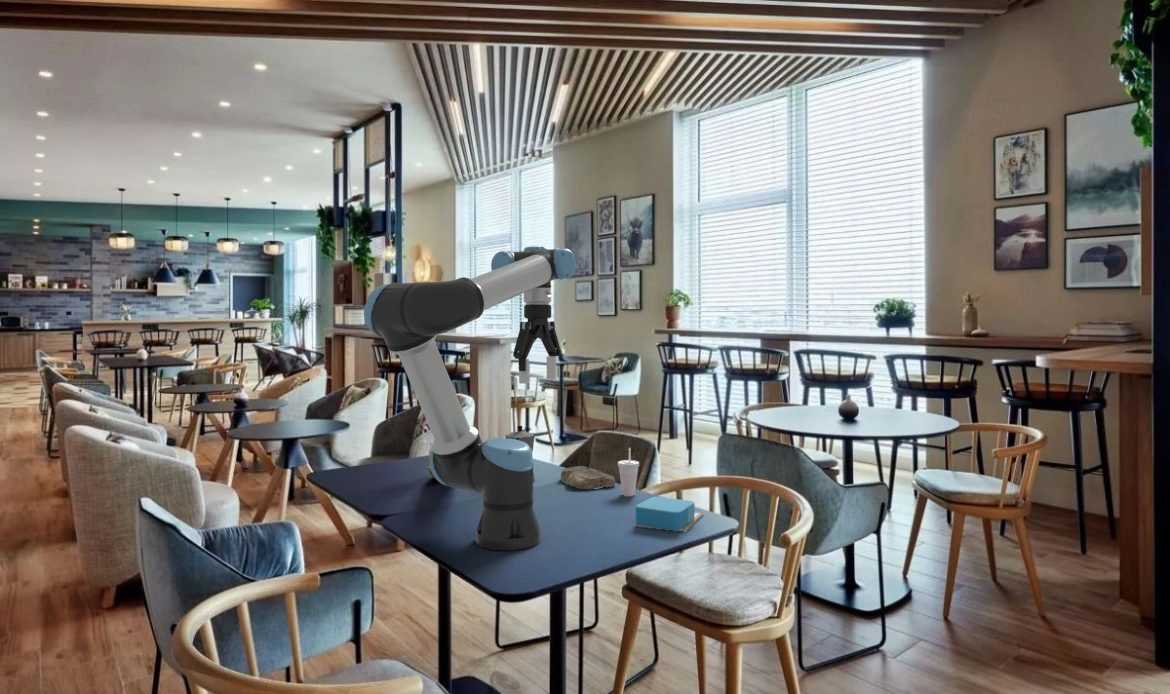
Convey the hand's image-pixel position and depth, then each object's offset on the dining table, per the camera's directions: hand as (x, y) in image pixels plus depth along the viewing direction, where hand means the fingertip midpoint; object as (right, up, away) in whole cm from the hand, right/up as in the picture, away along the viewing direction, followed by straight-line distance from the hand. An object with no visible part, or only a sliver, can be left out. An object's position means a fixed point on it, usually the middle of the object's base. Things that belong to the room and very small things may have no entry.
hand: (538, 381), depth 199 cm
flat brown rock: (+13, -34, +30) cm, 47 cm away
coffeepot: (-8, -34, +33) cm, 47 cm away
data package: (+38, -32, -19) cm, 54 cm away
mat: (+35, -35, -13) cm, 51 cm away
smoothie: (+26, -34, +14) cm, 45 cm away
